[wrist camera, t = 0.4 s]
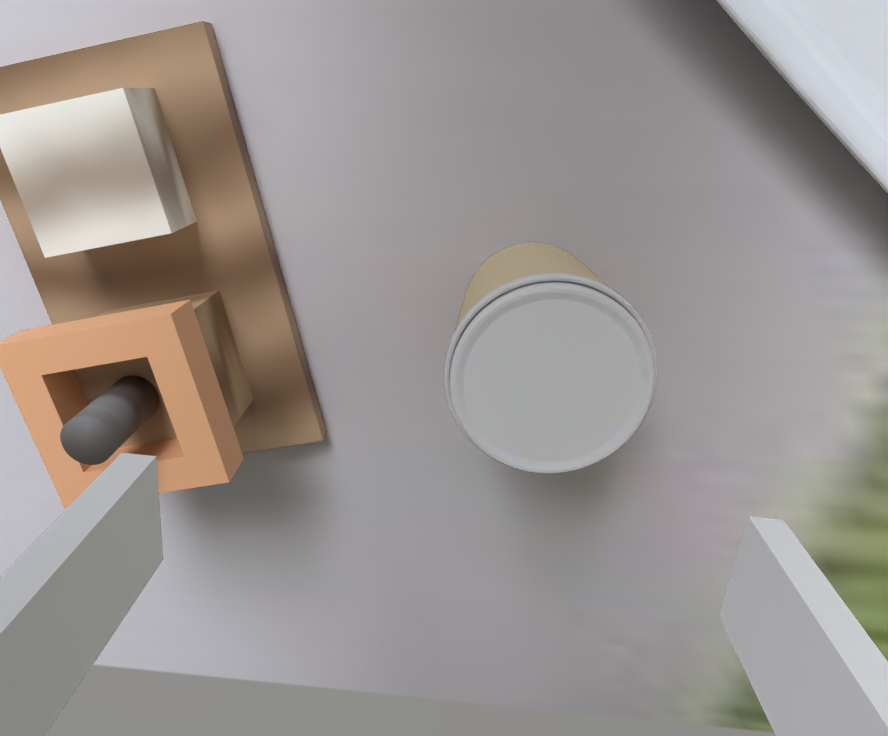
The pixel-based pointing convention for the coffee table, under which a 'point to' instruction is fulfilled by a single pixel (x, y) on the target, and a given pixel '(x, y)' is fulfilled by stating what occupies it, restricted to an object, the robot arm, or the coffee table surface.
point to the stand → (152, 231)
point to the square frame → (113, 340)
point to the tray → (830, 65)
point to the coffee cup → (547, 362)
